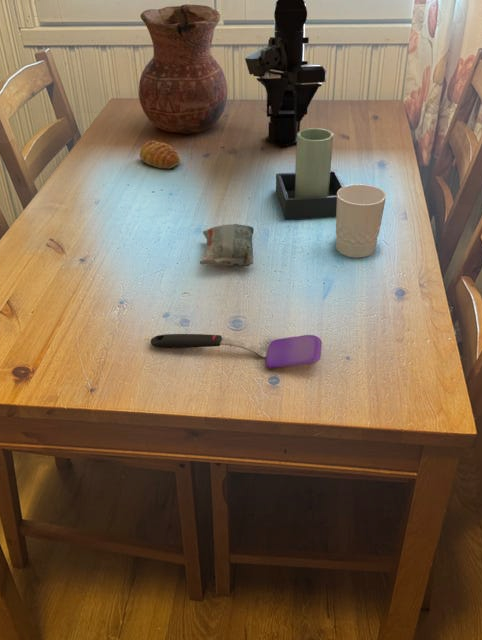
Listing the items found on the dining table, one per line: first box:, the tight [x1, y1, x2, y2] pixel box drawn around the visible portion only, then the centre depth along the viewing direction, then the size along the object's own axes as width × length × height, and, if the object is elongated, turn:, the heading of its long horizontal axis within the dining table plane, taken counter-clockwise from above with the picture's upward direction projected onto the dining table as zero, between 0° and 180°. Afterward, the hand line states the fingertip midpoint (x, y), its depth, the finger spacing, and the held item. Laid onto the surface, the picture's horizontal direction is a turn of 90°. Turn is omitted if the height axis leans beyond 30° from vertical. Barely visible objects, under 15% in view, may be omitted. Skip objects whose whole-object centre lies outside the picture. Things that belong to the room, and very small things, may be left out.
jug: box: [138, 3, 228, 135], centre depth 160 cm, size 22×21×25 cm
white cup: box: [335, 183, 387, 259], centre depth 115 cm, size 8×8×10 cm
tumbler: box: [294, 127, 334, 198], centre depth 128 cm, size 6×6×13 cm
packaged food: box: [199, 223, 255, 268], centre depth 115 cm, size 9×12×5 cm
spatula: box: [150, 333, 323, 369], centre depth 95 cm, size 24×7×2 cm, turn 79°
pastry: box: [139, 140, 181, 169], centre depth 148 cm, size 9×7×4 cm
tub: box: [275, 169, 346, 221], centre depth 131 cm, size 12×12×4 cm
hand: (286, 118), depth 136 cm, fingers open, 9 cm apart
